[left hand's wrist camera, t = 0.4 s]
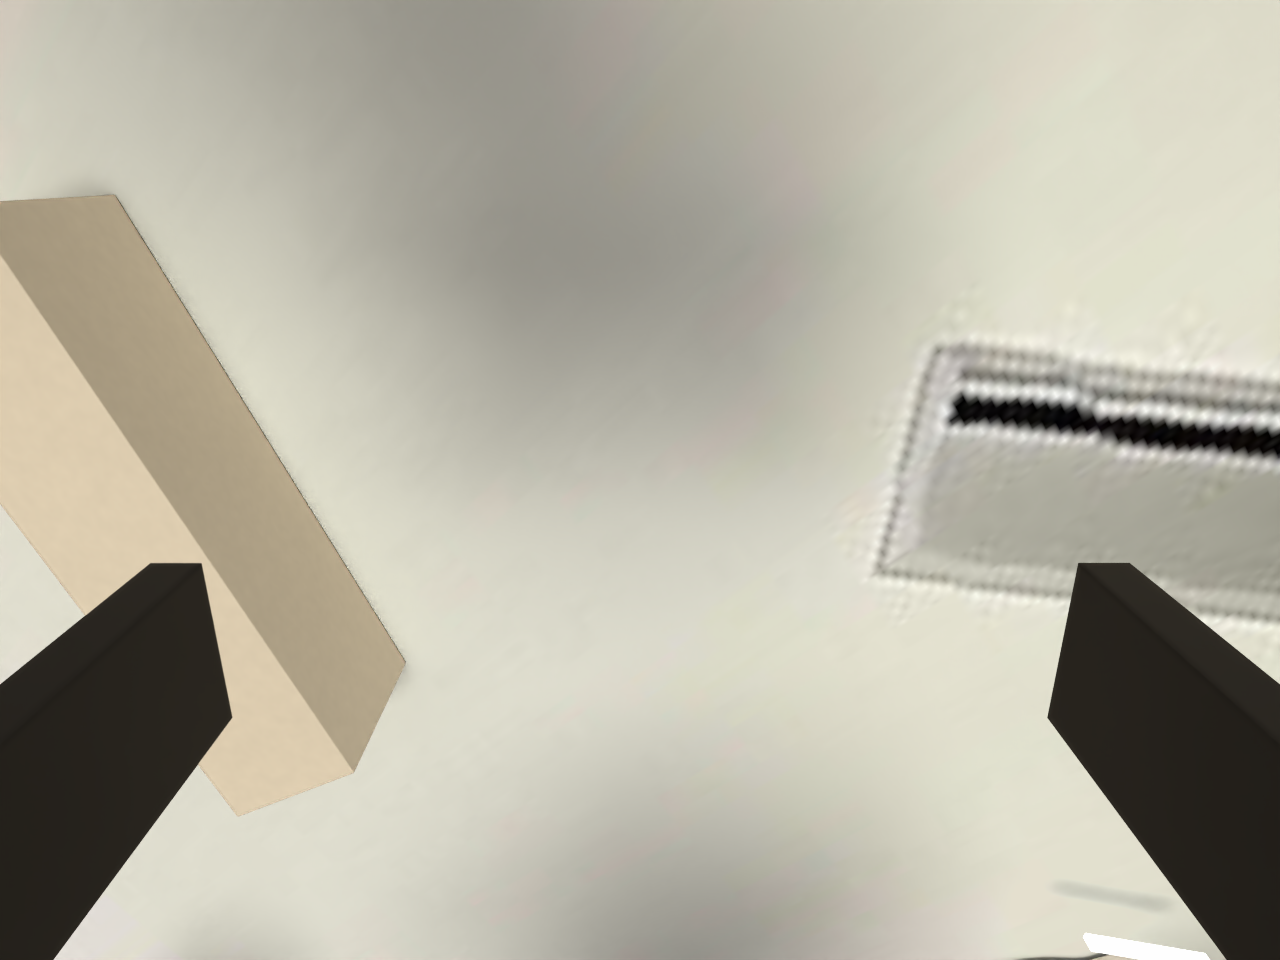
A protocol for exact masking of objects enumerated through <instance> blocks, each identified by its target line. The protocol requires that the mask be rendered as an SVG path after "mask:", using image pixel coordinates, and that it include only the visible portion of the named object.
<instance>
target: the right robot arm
mask: <svg viewBox="0 0 1280 960" xmlns="http://www.w3.org/2000/svg"><path fill="white" fill-rule="evenodd" d="M1083 938H1084V939H1085V941H1086V943H1087V945H1088V946H1089V948H1090V950H1091V951H1093V952H1099V953H1105V954H1110V955H1106V956H1102V957H1099V958H1095V959H1091V960H1210V959H1209V958H1208V957H1207V955H1206V954H1205V953H1200V952H1194V951H1188V950H1182V949H1176V948H1171V947H1165V946H1159V945H1153V944H1147V943H1141V942H1135V941H1129V940H1123V939H1117V938H1111V937H1105V936H1099V935H1094V934H1088V933H1085V935H1084V937H1083Z"/></svg>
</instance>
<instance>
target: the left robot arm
mask: <svg viewBox="0 0 1280 960" xmlns="http://www.w3.org/2000/svg"><path fill="white" fill-rule="evenodd" d="M232 718H233V717H232V712H231V707H230V702H229V697H228V692H227V687H226V682H225V677H224V672H223V667H222V662H221V657H220V652H219V647H218V642H217V637H216V632H215V627H214V622H213V617H212V612H211V607H210V602H209V597H208V592H207V587H206V582H205V577H204V572H203V567H202V563H150V564H149V565H147V566H146V567H145V568H144V569H142V570H141V571H140V572H139V573H137V574H136V575H135V576H134V577H133V578H131V579H130V580H129V581H128V582H126V583H125V584H124V585H123V586H121V587H120V588H119V589H118V590H116V591H115V592H114V593H113V594H112V595H110V596H109V597H108V598H107V599H105V600H104V601H103V602H102V603H100V604H99V605H98V606H97V607H95V608H94V609H93V610H92V611H90V612H89V613H88V614H87V615H86V616H84V617H83V618H82V619H81V620H79V621H78V622H77V623H76V624H74V625H73V626H72V627H71V628H69V629H68V630H67V631H66V632H64V633H63V634H62V635H61V636H60V637H58V638H57V639H56V640H55V641H53V642H52V643H51V644H50V645H48V646H47V647H46V648H45V649H43V650H42V651H41V652H40V653H39V654H37V655H36V656H35V657H34V658H32V659H31V660H30V661H29V662H27V663H26V664H25V665H24V666H22V667H21V668H20V669H19V670H17V671H16V672H15V673H14V674H13V675H11V676H10V677H9V678H8V679H6V680H5V681H4V682H3V683H1V684H0V960H53V959H54V958H55V957H56V955H57V954H58V953H59V951H60V950H61V949H62V947H63V946H64V945H65V943H66V942H67V941H68V939H69V938H70V937H71V935H72V934H73V932H74V931H75V930H76V928H77V927H78V926H79V924H80V923H81V922H82V920H83V919H84V918H85V916H86V915H87V914H88V912H89V911H90V910H91V908H92V907H93V905H94V904H95V903H96V901H97V900H98V899H99V897H100V896H101V895H102V893H103V892H104V891H105V889H106V888H107V887H108V885H109V884H110V883H111V881H112V880H113V878H114V877H115V876H116V874H117V873H118V872H119V870H120V869H121V868H122V866H123V865H124V864H125V862H126V861H127V860H128V858H129V857H130V855H131V854H132V853H133V851H134V850H135V849H136V847H137V846H138V845H139V843H140V842H141V841H142V839H143V838H144V837H145V835H146V834H147V833H148V831H149V830H150V828H151V827H152V826H153V824H154V823H155V822H156V820H157V819H158V818H159V816H160V815H161V814H162V812H163V811H164V810H165V808H166V807H167V806H168V804H169V803H170V801H171V800H172V799H173V797H174V796H175V795H176V793H177V792H178V791H179V789H180V788H181V787H182V785H183V784H184V783H185V781H186V780H187V778H188V777H189V776H190V774H191V773H192V772H193V770H194V769H195V768H196V766H197V765H198V764H199V762H200V761H201V760H202V758H203V757H204V756H205V754H206V753H207V751H208V750H209V749H210V747H211V746H212V745H213V743H214V742H215V741H216V739H217V738H218V737H219V735H220V734H221V733H222V731H223V730H224V729H225V727H226V726H227V724H228V723H229V722H230V720H231V719H232ZM1047 718H1048V719H1049V720H1050V722H1051V723H1052V724H1053V726H1054V727H1055V729H1056V730H1057V731H1058V733H1059V734H1060V735H1061V737H1062V738H1063V739H1064V741H1065V742H1066V743H1067V745H1068V746H1069V747H1070V749H1071V750H1072V751H1073V753H1074V754H1075V756H1076V757H1077V758H1078V760H1079V761H1080V762H1081V764H1082V765H1083V766H1084V768H1085V769H1086V770H1087V772H1088V773H1089V774H1090V776H1091V777H1092V778H1093V780H1094V781H1095V783H1096V784H1097V785H1098V787H1099V788H1100V789H1101V791H1102V792H1103V793H1104V795H1105V796H1106V797H1107V799H1108V800H1109V801H1110V803H1111V804H1112V806H1113V807H1114V808H1115V810H1116V811H1117V812H1118V814H1119V815H1120V816H1121V818H1122V819H1123V820H1124V822H1125V823H1126V824H1127V826H1128V827H1129V828H1130V830H1131V831H1132V833H1133V834H1134V835H1135V837H1136V838H1137V839H1138V841H1139V842H1140V843H1141V845H1142V846H1143V847H1144V849H1145V850H1146V851H1147V853H1148V854H1149V855H1150V857H1151V858H1152V860H1153V861H1154V862H1155V864H1156V865H1157V866H1158V868H1159V869H1160V870H1161V872H1162V873H1163V874H1164V876H1165V877H1166V878H1167V880H1168V881H1169V883H1170V884H1171V885H1172V887H1173V888H1174V889H1175V891H1176V892H1177V893H1178V895H1179V896H1180V897H1181V899H1182V900H1183V901H1184V903H1185V904H1186V905H1187V907H1188V908H1189V910H1190V911H1191V912H1192V914H1193V915H1194V916H1195V918H1196V919H1197V920H1198V922H1199V923H1200V924H1201V926H1202V927H1203V928H1204V930H1205V931H1206V932H1207V934H1208V935H1209V937H1210V938H1211V939H1212V941H1213V942H1214V943H1215V945H1216V946H1217V947H1218V949H1219V950H1220V951H1221V953H1222V954H1223V955H1224V957H1225V958H1226V959H1227V960H1280V684H1279V683H1277V682H1276V681H1275V680H1274V679H1272V678H1271V677H1270V676H1269V675H1267V674H1266V673H1265V672H1264V671H1263V670H1261V669H1260V668H1259V667H1258V666H1256V665H1255V664H1254V663H1253V662H1251V661H1250V660H1249V659H1248V658H1246V657H1245V656H1244V655H1243V654H1241V653H1240V652H1239V651H1238V650H1237V649H1235V648H1234V647H1233V646H1232V645H1230V644H1229V643H1228V642H1227V641H1225V640H1224V639H1223V638H1222V637H1220V636H1219V635H1218V634H1217V633H1216V632H1214V631H1213V630H1212V629H1211V628H1209V627H1208V626H1207V625H1206V624H1204V623H1203V622H1202V621H1201V620H1199V619H1198V618H1197V617H1196V616H1194V615H1193V614H1192V613H1191V612H1190V611H1188V610H1187V609H1186V608H1185V607H1183V606H1182V605H1181V604H1180V603H1178V602H1177V601H1176V600H1175V599H1173V598H1172V597H1171V596H1170V595H1168V594H1167V593H1166V592H1165V591H1164V590H1162V589H1161V588H1160V587H1159V586H1157V585H1156V584H1155V583H1154V582H1152V581H1151V580H1150V579H1149V578H1147V577H1146V576H1145V575H1144V574H1143V573H1141V572H1140V571H1139V570H1138V569H1136V568H1135V567H1134V566H1133V565H1131V564H1130V563H1078V567H1077V572H1076V577H1075V582H1074V587H1073V592H1072V597H1071V602H1070V607H1069V612H1068V617H1067V622H1066V627H1065V632H1064V637H1063V642H1062V647H1061V652H1060V657H1059V662H1058V667H1057V672H1056V677H1055V682H1054V687H1053V692H1052V697H1051V702H1050V707H1049V712H1048V717H1047Z"/></svg>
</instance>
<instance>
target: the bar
mask: <svg viewBox="0 0 1280 960" xmlns="http://www.w3.org/2000/svg"><path fill="white" fill-rule="evenodd" d="M0 504H1V505H2V507H3V508H4V509H5V511H6V512H7V513H8V515H9V516H10V517H11V519H12V520H13V521H14V523H15V524H16V525H17V526H18V528H19V529H20V530H21V532H22V533H23V534H24V536H25V537H26V538H27V540H28V541H29V542H30V544H31V545H32V546H33V548H34V549H35V550H36V552H37V553H38V554H39V555H40V557H41V558H42V559H43V561H44V562H45V563H46V565H47V566H48V567H49V569H50V570H51V571H52V573H53V574H54V575H55V577H56V578H57V579H58V581H59V582H60V583H61V584H62V586H63V587H64V588H65V590H66V591H67V592H68V594H69V595H70V596H71V598H72V599H73V600H74V602H75V603H76V604H77V606H78V607H79V608H80V610H81V611H82V612H83V613H84V615H85V616H86V615H87V614H88V613H89V612H90V611H92V610H93V609H94V608H95V607H97V606H98V605H99V604H100V603H102V602H103V601H104V600H105V599H107V598H108V597H109V596H110V595H112V594H113V593H114V592H115V591H116V590H118V589H119V588H120V587H121V586H123V585H124V584H125V583H126V582H128V581H129V580H130V579H131V578H133V577H134V576H135V575H136V574H137V573H139V572H140V571H141V570H142V569H144V568H145V567H146V566H147V565H149V564H150V563H202V567H203V572H204V577H205V582H206V587H207V592H208V597H209V602H210V607H211V612H212V617H213V622H214V627H215V632H216V637H217V642H218V647H219V652H220V657H221V662H222V667H223V672H224V677H225V682H226V687H227V692H228V697H229V702H230V707H231V712H232V717H233V718H232V719H231V720H230V722H229V723H228V724H227V726H226V727H225V729H224V730H223V731H222V733H221V734H220V735H219V737H218V738H217V739H216V741H215V742H214V743H213V745H212V746H211V747H210V749H209V750H208V751H207V753H206V754H205V756H204V757H203V758H202V760H201V761H200V762H199V764H198V765H199V766H200V768H201V769H202V770H203V772H204V773H205V774H206V776H207V777H208V778H209V780H210V781H211V782H212V783H213V785H214V786H215V787H216V789H217V790H218V791H219V793H220V794H221V795H222V797H223V798H224V799H225V801H226V802H227V803H228V805H229V806H230V807H231V809H232V810H233V811H234V812H235V814H236V815H237V816H241V815H243V814H246V813H249V812H251V811H254V810H257V809H259V808H262V807H265V806H267V805H270V804H273V803H275V802H278V801H281V800H283V799H286V798H288V797H291V796H294V795H296V794H299V793H302V792H304V791H307V790H310V789H312V788H315V787H318V786H320V785H323V784H326V783H328V782H331V781H333V780H336V779H339V778H341V777H344V776H347V775H349V774H352V773H354V771H355V769H356V767H357V765H358V763H359V761H360V759H361V756H362V754H363V752H364V750H365V748H366V746H367V744H368V742H369V740H370V737H371V735H372V733H373V731H374V729H375V727H376V725H377V723H378V720H379V718H380V716H381V714H382V712H383V710H384V708H385V706H386V703H387V701H388V699H389V697H390V695H391V693H392V691H393V689H394V687H395V684H396V682H397V680H398V678H399V676H400V674H401V672H402V670H403V667H404V665H405V661H404V659H403V658H402V656H401V654H400V653H399V651H398V650H397V648H396V646H395V645H394V643H393V642H392V640H391V638H390V637H389V635H388V634H387V632H386V630H385V629H384V627H383V626H382V624H381V622H380V621H379V619H378V618H377V616H376V614H375V613H374V611H373V609H372V608H371V606H370V605H369V603H368V601H367V600H366V598H365V597H364V595H363V593H362V592H361V590H360V589H359V587H358V585H357V584H356V582H355V581H354V579H353V577H352V576H351V574H350V573H349V571H348V569H347V568H346V566H345V564H344V563H343V561H342V560H341V558H340V556H339V555H338V553H337V552H336V550H335V548H334V547H333V545H332V544H331V542H330V540H329V539H328V537H327V536H326V534H325V532H324V531H323V529H322V528H321V526H320V524H319V523H318V521H317V519H316V518H315V516H314V515H313V513H312V511H311V510H310V508H309V507H308V505H307V503H306V502H305V500H304V499H303V497H302V495H301V494H300V492H299V491H298V489H297V487H296V486H295V484H294V482H293V481H292V479H291V478H290V476H289V474H288V473H287V471H286V470H285V468H284V466H283V465H282V463H281V462H280V460H279V458H278V457H277V455H276V454H275V452H274V450H273V449H272V447H271V446H270V444H269V442H268V441H267V439H266V437H265V436H264V434H263V433H262V431H261V429H260V428H259V426H258V425H257V423H256V421H255V420H254V418H253V417H252V415H251V413H250V412H249V410H248V409H247V407H246V405H245V404H244V402H243V401H242V399H241V397H240V396H239V394H238V392H237V391H236V389H235V388H234V386H233V384H232V383H231V381H230V380H229V378H228V376H227V375H226V373H225V372H224V370H223V368H222V367H221V365H220V364H219V362H218V360H217V359H216V357H215V356H214V354H213V352H212V351H211V349H210V347H209V346H208V344H207V343H206V341H205V339H204V338H203V336H202V335H201V333H200V331H199V330H198V328H197V327H196V325H195V323H194V322H193V320H192V319H191V317H190V315H189V314H188V312H187V311H186V309H185V307H184V306H183V304H182V302H181V301H180V299H179V298H178V296H177V294H176V293H175V291H174V290H173V288H172V286H171V285H170V283H169V282H168V280H167V278H166V277H165V275H164V274H163V272H162V270H161V269H160V267H159V266H158V264H157V262H156V261H155V259H154V257H153V256H152V254H151V253H150V251H149V249H148V248H147V246H146V245H145V243H144V241H143V240H142V238H141V237H140V235H139V233H138V232H137V230H136V229H135V227H134V225H133V224H132V222H131V220H130V219H129V217H128V216H127V214H126V212H125V211H124V209H123V208H122V206H121V204H120V203H119V201H118V200H117V198H116V196H115V195H105V196H87V197H69V198H51V199H33V200H15V201H0Z"/></svg>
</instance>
